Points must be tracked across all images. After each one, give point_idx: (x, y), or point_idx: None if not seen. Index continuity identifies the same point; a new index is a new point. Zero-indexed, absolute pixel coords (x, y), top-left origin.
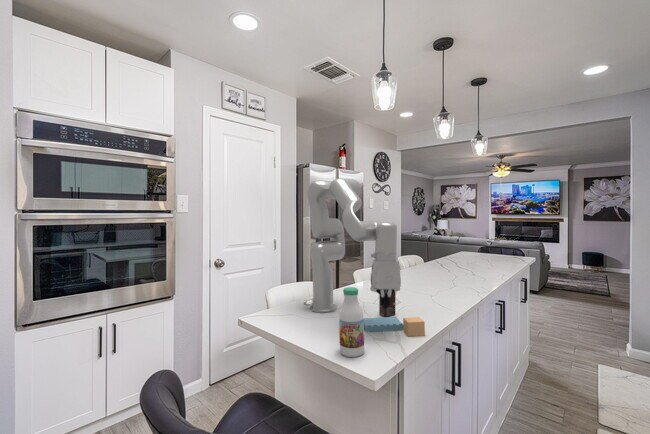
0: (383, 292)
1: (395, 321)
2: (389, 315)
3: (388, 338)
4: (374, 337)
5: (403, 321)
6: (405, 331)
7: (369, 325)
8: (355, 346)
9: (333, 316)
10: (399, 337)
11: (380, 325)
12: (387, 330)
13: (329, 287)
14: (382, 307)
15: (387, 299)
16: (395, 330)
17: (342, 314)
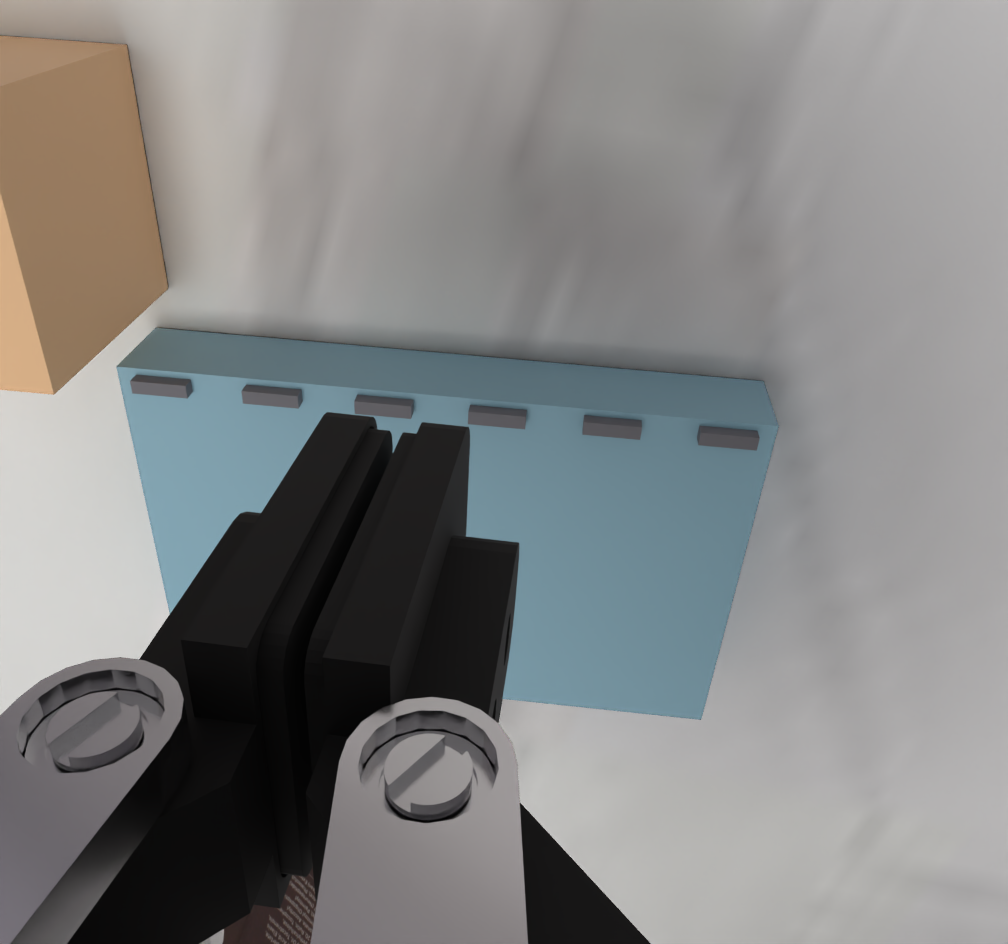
0: (351, 921)
1: (224, 519)
2: None
3: (500, 40)
4: (732, 139)
5: (85, 348)
6: (135, 198)
7: (722, 437)
8: None
9: (948, 904)
10: (289, 46)
11: (523, 411)
12: (417, 353)
13: None
14: (311, 893)
15: (257, 584)
16: (287, 342)
17: None
